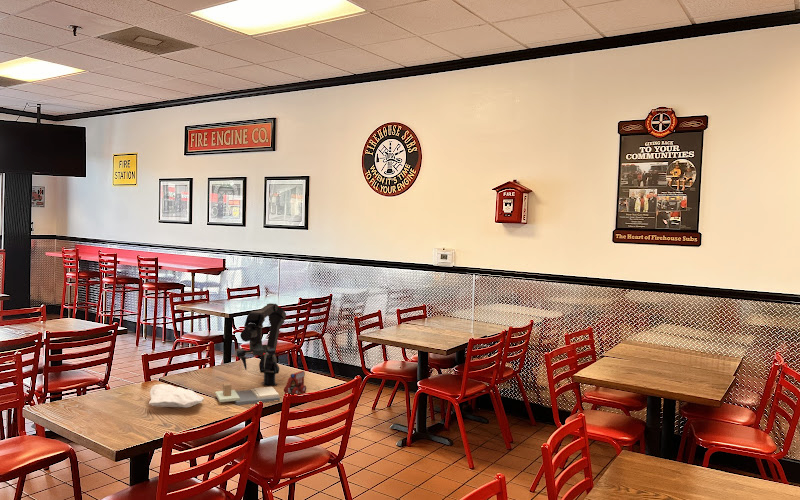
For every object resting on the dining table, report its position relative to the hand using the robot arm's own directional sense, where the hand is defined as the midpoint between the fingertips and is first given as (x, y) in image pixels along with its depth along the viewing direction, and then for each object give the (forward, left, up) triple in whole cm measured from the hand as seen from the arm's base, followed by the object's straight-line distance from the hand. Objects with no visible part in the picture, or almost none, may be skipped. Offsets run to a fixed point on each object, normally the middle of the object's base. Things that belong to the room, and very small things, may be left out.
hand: (255, 369), depth 304 cm
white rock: (+9, -39, -12) cm, 42 cm away
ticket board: (+8, -2, -12) cm, 14 cm away
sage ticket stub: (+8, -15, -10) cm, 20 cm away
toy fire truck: (+7, +18, -12) cm, 23 cm away
